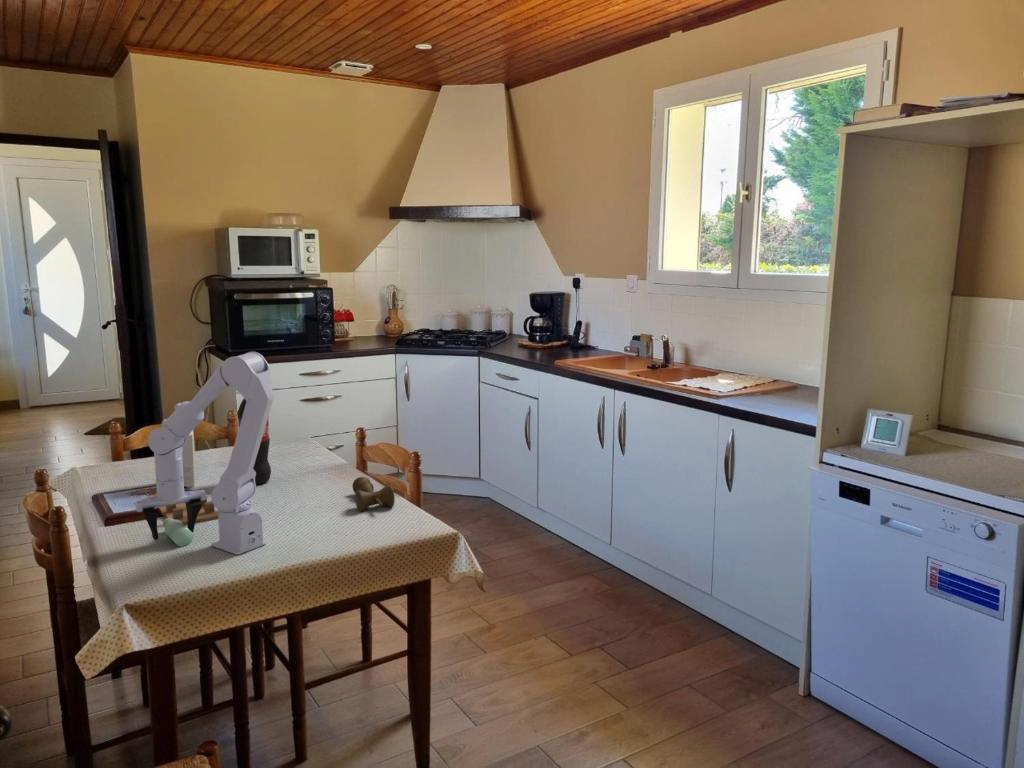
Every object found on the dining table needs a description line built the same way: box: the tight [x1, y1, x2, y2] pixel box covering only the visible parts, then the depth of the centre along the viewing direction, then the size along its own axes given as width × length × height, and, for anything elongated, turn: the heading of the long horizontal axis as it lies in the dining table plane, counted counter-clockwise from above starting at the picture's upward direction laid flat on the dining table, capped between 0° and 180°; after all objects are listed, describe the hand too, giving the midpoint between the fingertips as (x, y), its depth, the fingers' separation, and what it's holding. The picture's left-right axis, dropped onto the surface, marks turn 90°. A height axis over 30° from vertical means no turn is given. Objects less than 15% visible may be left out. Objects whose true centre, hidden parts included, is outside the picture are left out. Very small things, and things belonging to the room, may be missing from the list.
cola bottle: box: [236, 398, 272, 486], centre depth 213 cm, size 8×8×30 cm
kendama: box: [352, 476, 396, 512], centre depth 199 cm, size 6×10×20 cm
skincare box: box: [182, 430, 196, 488], centre depth 212 cm, size 8×7×16 cm
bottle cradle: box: [158, 495, 218, 526], centre depth 189 cm, size 16×11×3 cm
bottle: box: [162, 518, 194, 547], centre depth 173 cm, size 12×4×4 cm
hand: (173, 535), depth 171 cm, fingers open, 7 cm apart
